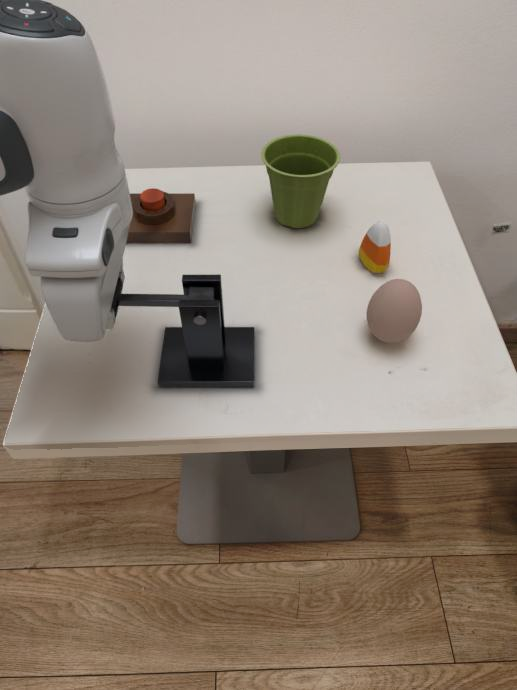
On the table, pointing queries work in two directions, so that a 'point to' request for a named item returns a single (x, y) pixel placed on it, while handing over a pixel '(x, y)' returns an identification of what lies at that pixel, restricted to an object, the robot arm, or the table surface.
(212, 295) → the lever
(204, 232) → the table surface
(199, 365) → the bracket
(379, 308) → the egg
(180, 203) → the button block
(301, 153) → the plant pot
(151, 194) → the button
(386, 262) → the candy corn
